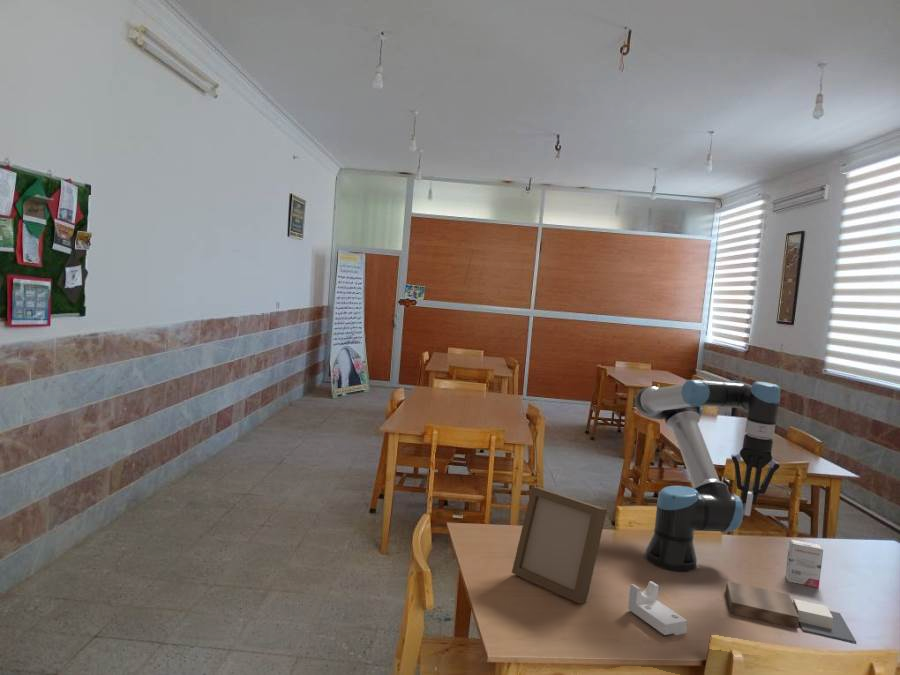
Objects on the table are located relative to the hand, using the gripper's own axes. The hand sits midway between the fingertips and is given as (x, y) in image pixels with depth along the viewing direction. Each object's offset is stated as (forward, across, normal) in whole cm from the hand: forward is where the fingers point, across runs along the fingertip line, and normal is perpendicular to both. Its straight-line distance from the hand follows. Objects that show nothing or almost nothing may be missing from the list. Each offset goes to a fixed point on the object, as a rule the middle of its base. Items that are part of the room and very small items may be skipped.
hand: (746, 514), depth 186 cm
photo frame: (+22, -48, -28) cm, 60 cm away
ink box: (+22, +20, +12) cm, 32 cm away
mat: (+20, +20, -14) cm, 32 cm away
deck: (+21, +5, -15) cm, 26 cm away
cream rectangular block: (+20, +17, -15) cm, 30 cm away
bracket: (+21, -22, -37) cm, 48 cm away
